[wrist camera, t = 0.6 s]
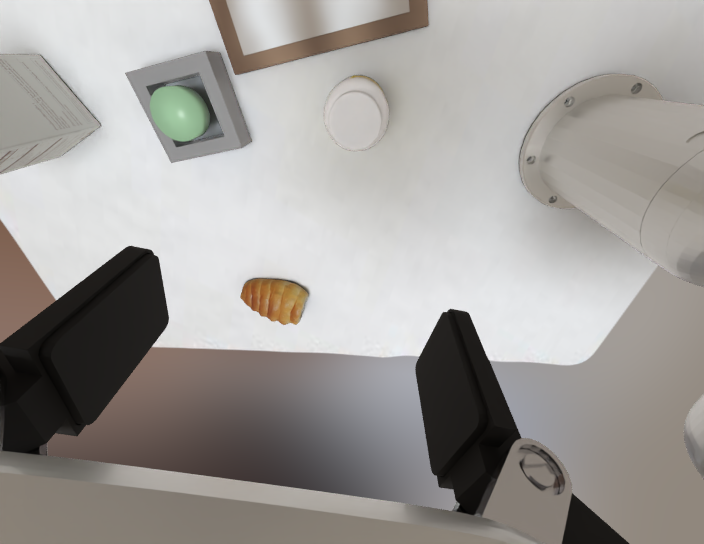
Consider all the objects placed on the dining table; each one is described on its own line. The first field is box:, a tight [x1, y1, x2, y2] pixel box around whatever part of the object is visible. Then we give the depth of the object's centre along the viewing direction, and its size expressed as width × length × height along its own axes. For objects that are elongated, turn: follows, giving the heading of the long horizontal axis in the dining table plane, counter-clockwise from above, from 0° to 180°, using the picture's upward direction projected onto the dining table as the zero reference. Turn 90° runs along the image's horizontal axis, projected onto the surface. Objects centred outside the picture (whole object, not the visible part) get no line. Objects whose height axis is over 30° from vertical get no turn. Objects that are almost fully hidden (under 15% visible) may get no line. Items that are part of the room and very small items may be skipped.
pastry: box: [241, 279, 309, 325], centre depth 43 cm, size 9×7×4 cm
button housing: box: [125, 51, 252, 163], centre depth 30 cm, size 8×8×3 cm
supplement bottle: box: [324, 75, 389, 151], centre depth 26 cm, size 5×5×10 cm
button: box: [150, 85, 210, 142], centre depth 28 cm, size 4×4×2 cm
